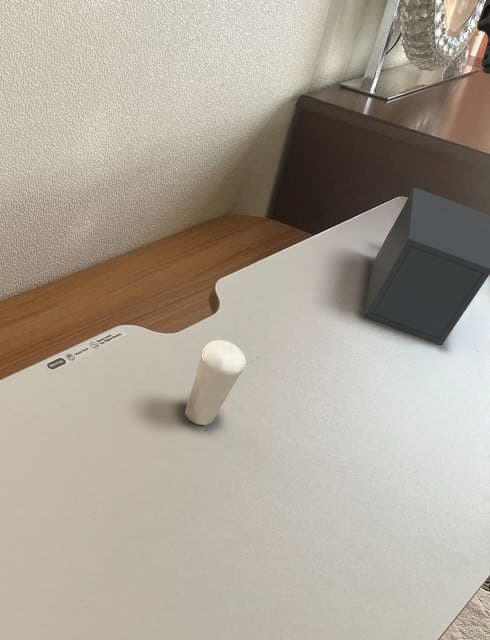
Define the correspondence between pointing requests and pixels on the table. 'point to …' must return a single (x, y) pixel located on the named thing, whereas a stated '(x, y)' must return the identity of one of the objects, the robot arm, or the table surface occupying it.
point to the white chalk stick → (214, 380)
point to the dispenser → (429, 266)
